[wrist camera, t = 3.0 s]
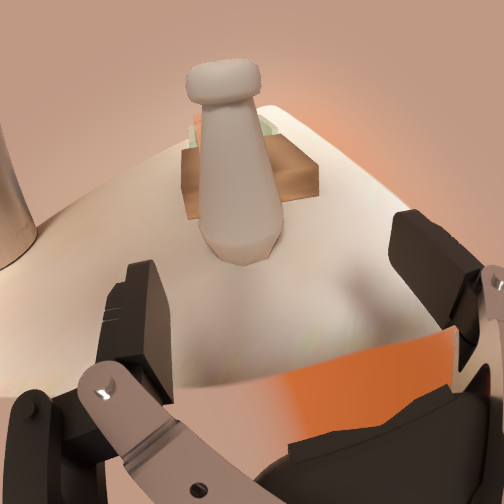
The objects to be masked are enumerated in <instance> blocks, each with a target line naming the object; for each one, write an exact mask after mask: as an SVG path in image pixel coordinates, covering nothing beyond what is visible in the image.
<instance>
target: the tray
mask: <svg viewBox="0 0 504 504" xmlns="http://www.w3.org/2000/svg"><path fill="white" fill-rule="evenodd" d="M258 118H259V122H260V125H261V129H262V133H263V136H267V135H275V134H278V127H276V126H275V125H274V124H272V123H271V122H270V121H268V120H267V119H266V118H264V117H263V116H262V115H258ZM188 129H189V130H188V131H189V143H190V148H194V147H198V142H197V136H196V130H195V125H192V126H189V127H188Z"/></svg>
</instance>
